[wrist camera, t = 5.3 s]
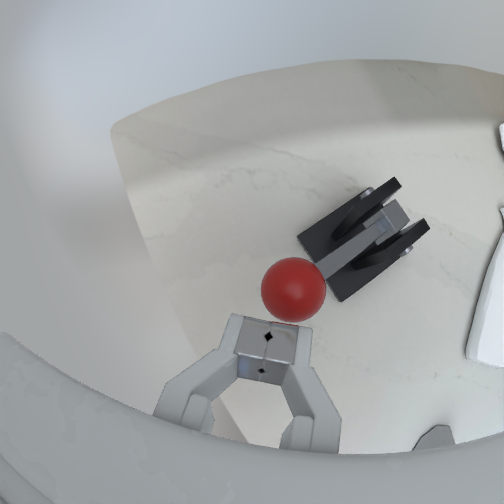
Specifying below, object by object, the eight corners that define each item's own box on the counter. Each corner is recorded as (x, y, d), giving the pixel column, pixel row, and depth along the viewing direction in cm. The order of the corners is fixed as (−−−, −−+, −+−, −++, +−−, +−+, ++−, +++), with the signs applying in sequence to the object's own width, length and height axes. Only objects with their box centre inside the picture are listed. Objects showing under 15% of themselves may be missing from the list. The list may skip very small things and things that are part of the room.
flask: (437, 417, 26) (471, 446, 16) (458, 433, 25) (490, 459, 15) (403, 454, 26) (428, 491, 16) (427, 467, 24) (452, 499, 15)
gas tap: (339, 302, 30) (372, 309, 18) (296, 238, 32) (303, 205, 19) (407, 249, 30) (464, 228, 17) (366, 190, 32) (404, 140, 19)
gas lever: (274, 338, 15) (304, 329, 12) (240, 287, 16) (262, 265, 13) (391, 242, 22) (420, 224, 19) (369, 209, 23) (395, 187, 19)
